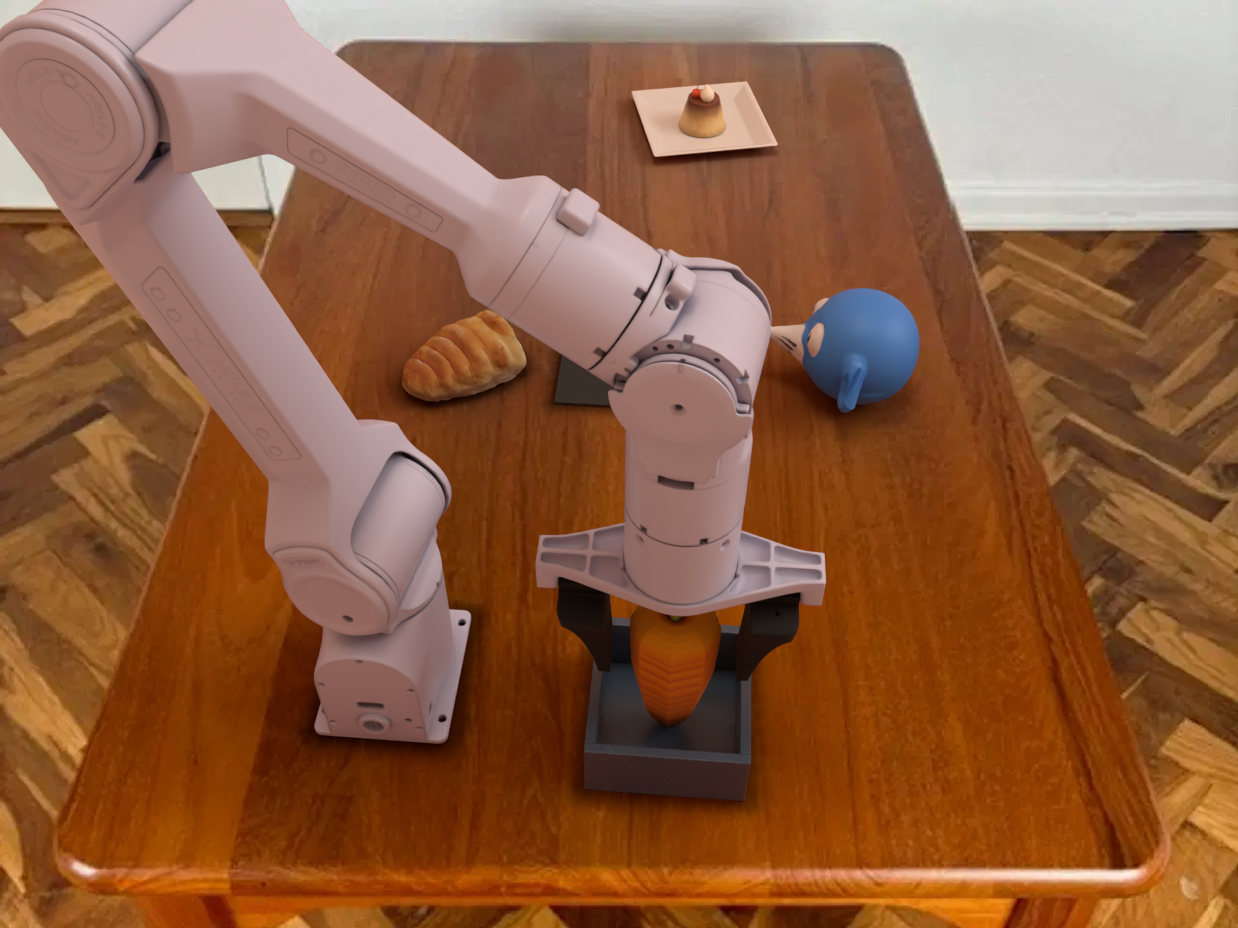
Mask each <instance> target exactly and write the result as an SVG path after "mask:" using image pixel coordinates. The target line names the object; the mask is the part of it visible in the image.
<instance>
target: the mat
mask: <svg viewBox="0 0 1238 928" xmlns="http://www.w3.org/2000/svg"><path fill="white" fill-rule="evenodd" d="M559 365H560V366H559V371H558V378H557V384H556V389H555V395H554V401H553V403H554V405H571V406H586V407H604V408H611V406H610V402H609V397H608V391H609V390H615V388H614V387H612V386H611V385H609V384H608V383H606V382H604V381H603V380H601V379H600V378H598V377H597V376H595V375H593V374H592V373H590V372H589V371H587V370H586V369H584V368H582V367H581V366H579V365H578V364H576V363H574V362H573V361H571V360H570V359H568V358H567V357H565V356H563V355H562V354H561V359H560V364H559Z"/></svg>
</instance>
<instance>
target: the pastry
mask: <svg viewBox="0 0 1238 928" xmlns="http://www.w3.org/2000/svg"><path fill="white" fill-rule="evenodd" d="M526 366H527V356H526V353H525V351H524V349H523V346H522V344H521V343H520V341H519V340H518V338H517V336H516V333H515V331H514V329H513V327H512V326H511V325H510V324H509V321H508V320H506V319H504V318H503V317H501V316H500V315H498V314H497V313H495V312H493V311H492V310H490V309H483V311H479V312H477V314H475V315H473V316H470V317H466V318H462V319H459V320H457V321H455V322H454V323H450V324H446V325H444V326H443V327H441V328H440V329H439V330H438V332H436V333H435V334H434V335H432V336H431V337H430V338H429V339H428V340H427V341H426V342H425V343H424V344H423V345H421V346H420V347H419V348H418V349H417V350H416V351H415V352H414V353H413V354H411V356H410V358H409V359H408V360H407V361H406V362H405V363H404V364H403V367H402V379H401V385H402V388H403V389H404V390H405V392H406V393H408V394H409V395H410V396H411V397H415V398H417V399H420V400H423V401H426V402H436V403H438V402H440V401H450V400H451V399H453V398H461V397H462V398H467V397H470V396H474V395H477V394H478V393H483V392H485V391H488V390H489V389H492V388H495V387H496V386H498V385H499V384H502V383H507V382H509V381H512V380H513V379H514V378H516V377H517V375H518V374H520V373H521V372H522V370H523V369H524V368H526Z"/></svg>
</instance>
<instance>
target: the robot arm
mask: <svg viewBox="0 0 1238 928" xmlns="http://www.w3.org/2000/svg"><path fill="white" fill-rule="evenodd" d="M0 129H1V130H2V132H3V133H4V134H5V136H6V137H7V138H8V140H9V141H10V142H11V144H12V145H13V146H14V147H15V150H17V151H18V153H19V154H20V155H21V157H22V158H23V159H24V161H25V162H26V163H27V164H28V166H29V167H30V168H31V170H32V171H33V173H35V175H36V176H37V177H38V179H39V180H40V181H41V182H42V184H43V186H44V188H45V190H46V192H47V193H48V194H49V196H50V198H51V199H52V201H53V202H54V204H55V205H56V206H57V208H58V209H59V211H60V212H61V213H62V214H63V215H64V217H65V218H66V219H67V221H68V222H69V224H70V226H72V227H73V229H74V230H75V231H76V232H77V234H78V235H79V236H80V238H81V239H82V240H83V241H84V243H85V244H86V246H87V247H88V248H89V249H90V251H91V252H92V253H93V254H94V256H95V257H96V259H97V260H98V261H99V262H100V264H101V265H102V266H103V268H104V269H105V270H106V271H107V273H108V274H109V275H110V276H111V278H112V279H113V281H114V282H115V283H116V284H117V286H118V287H119V288H120V290H121V291H122V292H123V293H124V295H125V296H126V297H127V299H128V300H129V302H131V305H132V306H133V307H134V308H135V310H137V312H138V313H139V314H140V316H141V317H142V318H143V320H144V321H145V322H146V323H147V325H148V326H149V327H150V329H151V330H152V331H153V333H154V334H155V336H157V338H158V339H159V340H160V341H161V343H162V344H163V346H164V347H165V348H166V349H167V350H168V352H169V354H170V355H171V356H172V357H173V358H174V360H175V361H176V362H177V364H178V365H179V367H180V368H181V369H182V370H183V371H184V373H185V374H186V375H187V377H188V378H189V380H190V381H191V383H193V385H194V386H195V387H196V388H197V390H198V391H199V393H200V394H201V395H202V396H203V397H204V399H205V400H206V402H207V403H208V404H209V405H210V406H211V409H213V410H214V412H215V414H217V416H218V417H219V418H220V420H221V421H222V422H223V423H224V425H225V427H226V428H227V429H228V430H229V431H230V432H231V434H232V435H233V437H234V438H235V439H236V441H237V442H238V443H239V444H240V445H241V447H242V448H243V449H244V451H245V452H246V453H247V454H248V456H249V457H250V458H251V460H252V462H254V464H255V465H256V467H257V468H258V469H259V470H260V471H261V473H262V474H263V476H264V477H265V478H266V479H267V482H268V493H267V504H266V517H265V527H264V528H265V529H264V549H265V551H266V553H267V555H269V557H270V558H271V559H272V560H273V562H274V563H275V565H276V566H277V567H278V570H279V571H280V575H281V579H282V585H283V588H284V590H285V592H286V594H287V596H288V597H289V599H290V600H291V602H292V603H293V605H294V606H295V608H296V609H297V610H298V611H299V612H300V613H301V614H303V616H305V617H306V618H307V619H309V620H310V621H312V622H313V623H315V624H316V625H319V626H321V627H322V635H321V643H320V648H319V653H318V657H317V660H316V664H315V667H314V671H313V682H314V683H313V684H314V686H315V689H316V692H317V695H318V698H319V701H320V705H319V706H318V707H319V708H318V711H317V715H316V717H315V721H314V725H313V726H314V727H313V728H314V731H315V733H316V734H317V735H319V736H329V737H330V736H331V737H340V738H342V737H343V738H356V739H366V740H367V739H368V740H369V739H371V740H383V741H395V742H396V741H397V742H407V743H408V742H409V743H410V742H411V743H422V744H423V743H424V744H434V745H435V744H436V745H437V744H438V745H439V744H443V743H445V742H446V741H447V740H448V738H449V734H450V729H451V724H452V719H453V715H454V714H453V713H454V709H455V704H456V698H457V694H458V689H459V684H460V678H461V673H462V669H463V664H464V658H465V653H466V648H467V643H468V639H469V638H468V637H469V632H470V630H471V629H470V628H471V624H472V615H471V612H470V611H468V610H465V609H453V608H452V609H451V608H450V607H449V606H450V605H449V598H448V594H447V588H446V582H445V581H446V580H445V575H444V568H443V562H442V556H441V552H440V549H439V546H438V544H437V539H438V529H437V525H438V522H439V521H440V518H441V517H442V516H443V514H444V513H445V512H446V511H447V510H448V509H449V506H450V505H451V501H452V486H451V483H450V481H449V478H448V477H447V475H446V474H445V472H444V471H443V470H442V469H441V467H440V466H439V465H438V464H437V463H435V461H433V459H432V458H430V457H429V456H428V455H426V454H425V453H424V452H422V451H420V450H419V449H418V448H417V447H415V446H414V445H413V444H412V442H410V440H409V439H408V438H407V436H406V435H405V434H404V432H403V431H402V429H401V428H400V426H399V424H398V423H397V422H393V421H388V420H387V421H386V420H382V419H371V418H368V419H366V418H365V419H357V418H356V416H355V415H354V414H353V412H352V410H351V409H350V407H349V406H348V405H347V402H345V400H344V399H343V397H342V396H341V394H340V392H339V391H338V390H337V388H336V386H335V385H334V384H333V382H332V381H331V379H330V378H329V376H328V375H327V373H326V372H325V370H324V369H323V367H322V366H321V364H320V363H319V361H318V360H317V359H316V357H315V355H314V354H313V352H312V351H311V350H310V348H309V346H308V345H307V344H306V342H305V341H304V339H303V337H302V336H301V335H300V333H299V332H298V330H297V329H296V327H295V326H294V324H293V323H292V321H291V320H290V318H289V317H288V316H287V314H286V312H285V310H284V309H283V308H282V307H281V305H280V304H279V302H278V300H277V299H276V297H275V296H274V295H273V293H272V292H271V290H270V288H269V287H268V286H267V284H266V282H265V281H264V279H263V278H262V277H261V275H260V274H259V272H258V271H257V269H256V268H255V266H254V264H252V262H251V261H250V259H249V257H248V256H247V254H246V253H245V251H244V249H242V247H241V246H240V244H239V242H238V241H237V240H236V238H235V236H234V235H233V233H232V232H231V230H229V227H228V226H227V225H226V223H225V222H224V220H223V219H222V217H221V216H220V214H219V213H218V211H217V210H216V208H215V207H214V204H212V202H211V201H210V200H209V198H208V196H207V195H206V193H205V192H204V191H203V189H202V187H201V186H200V185H199V183H198V181H197V180H196V179H195V177H194V175H193V173H195V172H200V171H204V170H207V169H212V168H215V167H220V166H223V165H227V164H232V163H235V162H240V161H245V160H249V159H252V158H256V157H261V156H265V155H269V156H275V157H277V158H279V159H281V160H283V161H284V162H287V163H288V164H290V165H292V166H294V167H296V168H298V169H300V170H301V171H303V172H305V173H307V174H309V175H311V176H313V177H314V178H316V179H317V180H320V181H322V182H324V183H325V184H328V185H329V186H331V187H333V188H335V189H336V190H339V191H340V192H342V193H343V194H346V195H347V196H349V197H351V198H353V199H355V200H357V201H359V202H361V203H362V204H364V205H366V206H368V207H370V208H371V209H374V210H375V211H377V212H379V213H380V214H382V215H384V216H386V217H388V218H390V219H391V220H393V221H396V222H397V223H399V224H401V225H403V226H405V227H407V228H409V229H411V230H412V231H414V232H416V233H417V234H419V235H421V236H423V237H425V238H426V239H429V240H431V241H433V242H434V243H435V244H438V245H440V246H442V247H443V248H446V249H447V250H449V251H451V252H452V253H453V254H454V256H455V258H456V261H457V264H458V267H459V269H460V273H461V277H462V280H463V283H464V286H465V289H466V292H467V294H468V295H469V297H470V298H472V299H473V300H475V301H476V302H478V303H479V304H481V305H483V306H484V307H486V308H487V309H488V310H489V311H492V312H494V313H497V314H498V315H500V316H501V317H503V318H504V319H505V320H506V321H507V322H508V323H511V324H512V325H514V326H515V327H517V328H519V329H521V330H522V331H524V332H525V333H527V334H529V335H530V336H532V337H533V338H535V339H536V340H538V341H540V342H541V343H543V344H544V345H546V346H548V347H549V348H550V349H552V350H554V351H555V352H557V353H558V354H559V355H560V354H561V356H562V355H563V356H565V357H567V358H568V359H570V360H571V361H573V362H574V363H576V364H578V365H579V366H581V367H582V368H584V369H586V370H587V371H589V372H590V373H592V374H593V375H595V376H597V377H598V378H600V379H601V380H603V381H604V382H606V383H608V384H609V385H611V386H612V387H614V388H615V390H609V391H608V397H609V402H610V406H611V407H610V408H611V410H612V413H613V414H614V416H615V418H616V419H617V421H618V422H619V423H620V425H621V426H622V427H623V428H624V429H625V458H624V459H625V461H624V463H625V464H624V465H625V466H624V467H625V468H624V472H625V473H624V479H625V480H624V516H623V517H624V518H623V519H624V522H622V523H617V524H612V525H608V526H607V525H606V526H603V527H598V528H593V529H588V530H583V531H578V532H573V533H568V534H540V535H539V538H538V544H537V551H536V556H535V563H534V567H535V580H536V587H537V588H542V589H556V588H558V590H557V601H556V615H557V619H558V622H559V624H560V626H561V627H562V628H564V629H566V630H568V631H569V632H571V633H573V634H574V635H575V636H576V637H578V638H579V639H580V641H582V643H583V644H584V646H585V647H586V648H587V650H588V652H589V654H590V655H591V657H592V659H593V662H594V661H595V663H596V666H597V669H598V670H599V671H606V672H610V664H611V654H612V644H613V622H612V617H613V613H612V604H611V603H612V602H611V596H613V597H616V598H619V599H621V600H624V601H627V602H630V603H631V604H632V603H633V604H635V605H637V606H638V605H640V606H643V607H645V608H648V609H651V610H653V611H656V612H659V613H663V614H667V615H672V616H692V615H698V614H703V613H707V612H711V611H715V612H716V611H720V610H724V609H729V608H733V607H737V606H742V605H744V607H743V613H742V617H741V621H740V625H739V626H740V629H739V633H738V640H737V650H736V681H748V680H749V678H750V676H751V677H752V675H753V673H754V671H755V670H756V668H757V667H758V666H759V664H760V663H761V662H762V661H763V660H764V659H765V658H766V656H768V655H769V654H770V653H772V651H775V649H777V648H778V647H781V646H783V645H785V644H788V643H792V642H793V640H794V639H795V637H796V635H797V633H798V630H799V627H800V604H802V605H805V606H814V607H815V606H817V607H820V606H822V604H823V598H824V595H825V594H824V593H825V590H826V585H827V576H826V575H827V574H826V555H825V553H824V552H820V551H819V552H818V551H810V550H805V549H804V550H803V549H799V548H795V547H793V546H789V545H785V544H782V543H779V542H778V541H777V542H776V541H773V540H771V539H768V538H765V537H761V536H759V535H757V534H753V533H751V532H748V531H745V530H742V528H743V523H744V522H743V521H744V513H745V507H746V501H747V490H748V485H749V484H748V482H749V475H750V467H751V459H752V450H753V443H754V441H753V440H754V439H753V425H754V419H755V411H754V407H753V405H754V401H755V397H756V394H757V390H758V386H759V382H760V380H761V379H760V378H761V375H762V371H763V367H764V364H765V359H766V355H767V352H768V348H769V344H770V340H771V339H770V335H771V326H772V323H773V321H772V320H773V316H772V309H771V306H770V303H769V300H768V298H767V297H766V295H765V293H764V291H762V289H761V287H759V285H758V284H757V283H756V282H755V281H753V280H752V279H751V278H750V277H749V276H747V275H746V274H745V273H744V271H743V270H742V268H741V267H739V266H738V265H736V264H734V263H731V262H730V261H729V262H728V261H726V260H722V259H718V258H712V257H704V256H703V257H702V256H701V257H699V256H697V257H693V256H692V257H691V256H685V255H681V254H680V253H678V252H675V251H674V250H673V249H671V248H669V249H668V250H665V249H663V248H657V249H656V248H655V247H653V246H651V245H650V244H648V243H646V242H645V241H644V240H643V239H641V238H639V237H638V236H636V235H634V234H633V233H632V232H630V231H629V230H628V229H626V228H625V227H623V226H621V225H620V224H618V223H617V222H615V221H613V219H610V218H609V217H608V216H607V215H605V214H603V213H602V212H600V211H599V210H600V207H601V205H600V203H599V202H598V201H596V200H595V199H593V198H592V197H591V196H589V195H588V194H586V193H585V192H583V191H582V190H580V189H579V188H576V187H574V188H571V190H570V191H569V190H567V189H566V188H564V187H563V186H561V185H560V184H559V183H557V182H556V181H554V180H552V179H551V178H550V177H548V176H547V175H529V176H523V177H522V176H521V177H516V178H507V179H506V178H505V179H503V178H497V177H496V176H495V175H493V173H491V172H489V171H488V170H487V169H486V168H485V167H483V166H482V165H480V164H479V163H478V162H477V161H475V160H474V159H473V158H471V157H470V156H469V155H468V154H466V153H465V152H463V151H462V150H461V149H460V148H458V147H457V146H456V145H455V144H453V143H451V142H450V141H449V140H448V139H446V138H445V137H444V136H443V135H442V134H440V133H439V132H437V131H436V130H435V129H433V128H432V127H431V126H429V124H427V123H426V122H424V121H423V120H422V119H420V118H419V117H417V115H415V114H414V113H412V112H411V111H410V110H408V108H406V107H404V106H403V105H402V104H400V102H398V101H397V100H395V99H394V98H393V97H391V96H390V95H389V94H388V93H386V92H385V91H384V90H382V89H381V88H380V87H379V86H377V85H376V84H374V83H373V82H372V81H371V80H370V79H368V78H367V77H365V76H364V75H363V74H361V73H360V72H359V71H358V70H356V69H355V68H354V67H352V66H351V65H349V63H348V62H346V61H344V59H342V58H340V57H339V56H338V55H337V54H336V53H334V52H333V51H331V50H330V49H328V48H327V47H326V46H325V45H323V44H322V43H321V42H319V41H318V40H317V39H316V38H314V37H313V36H311V35H310V34H309V33H308V32H307V31H306V30H305V29H304V28H303V27H301V25H300V24H299V22H298V20H297V19H296V18H295V16H294V13H293V12H292V10H291V9H290V7H289V5H288V4H287V1H286V0H42V1H41V2H39V3H38V4H36V5H35V6H34V7H32V9H30V10H29V11H28V12H27V13H23V14H19V15H17V16H16V17H14V18H13V19H11V20H9V21H8V22H6V23H5V24H4V25H2V26H1V27H0ZM460 624H464V625H460ZM441 719H445V720H444V721H442V722H441V721H440V720H441Z"/></svg>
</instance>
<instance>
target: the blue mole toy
mask: <svg viewBox="0 0 1238 928" xmlns="http://www.w3.org/2000/svg"><path fill="white" fill-rule="evenodd" d="M916 322H917V321H916V320H915V317H914V316H913V314H912V312H911V311H910V310H909V308H908V307H907V306H906V305H905V304H904V303H903V302H902V301H900V300H899V299H898V298H897V297H895V296H894V295H891V294H890V293H888V292H885V291H883V290H880V289H875V288H870V287H858V288H857V287H856V288H849V289H845V290H841V291H839V292H837V293H835V294H833V295H831V296H830V297H823V298H822V299H820V300H818V301H817V302H816V303H815V304H814V305H813V308H812V315H810V317H808V319H807V320H805V322H804V323H802V324H791V325H777V326H772V325H771V335H770V340H771V341H773V342H775V343H776V344H777V345H778V346H779V347H781V348H782V350H784V351H785V352H786V353H788V354H790V355H792V357H793V358H795V360H797V361H798V363H799V364H800V365H801V366H802V367H803V369H804V370H805V371H806V373H807V375H808V376H809V378H810V379H811V380H812V382H813V383H814V384H815V385H816V387H817V388H818V389H819V390H820V391H822V392H823V393H824V394H825V395H827V396H828V397H830V398H832V399H834V400H836V403H837V409H838V410H839V411H840V412H841V413H843V414H844V413H845V414H847V413H850V412H851V411H852V410H854V409H855V408H856V406H857V405H859V406H860V405H861V406H862V405H871V404H876V403H880V402H882V401H885V400H887V399H890V398H891V397H893V396H894V395H896V394H897V393H898V392H899V391H900V390H901V389H902V388H903V387H904V386H905V385H906V384H907V383H908V381H909V380H910V379H911V376H913V375H912V374H913V373H914V371H915V368H916V366H917V363H918V358H919V354H920V334H919V333H920V332H919V329H918V325H917V323H916Z"/></svg>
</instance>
